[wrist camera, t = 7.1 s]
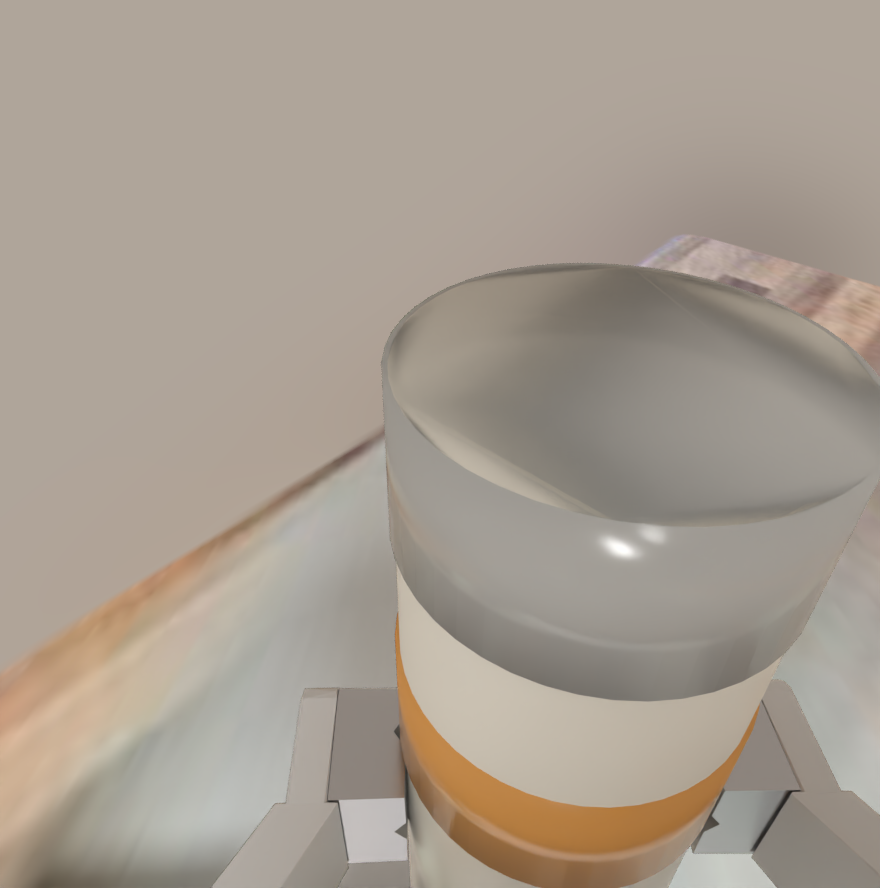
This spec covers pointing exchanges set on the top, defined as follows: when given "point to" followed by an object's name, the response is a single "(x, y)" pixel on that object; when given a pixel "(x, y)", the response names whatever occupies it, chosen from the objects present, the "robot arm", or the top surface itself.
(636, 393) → the marked fuse
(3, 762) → the top surface
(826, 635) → the top surface
